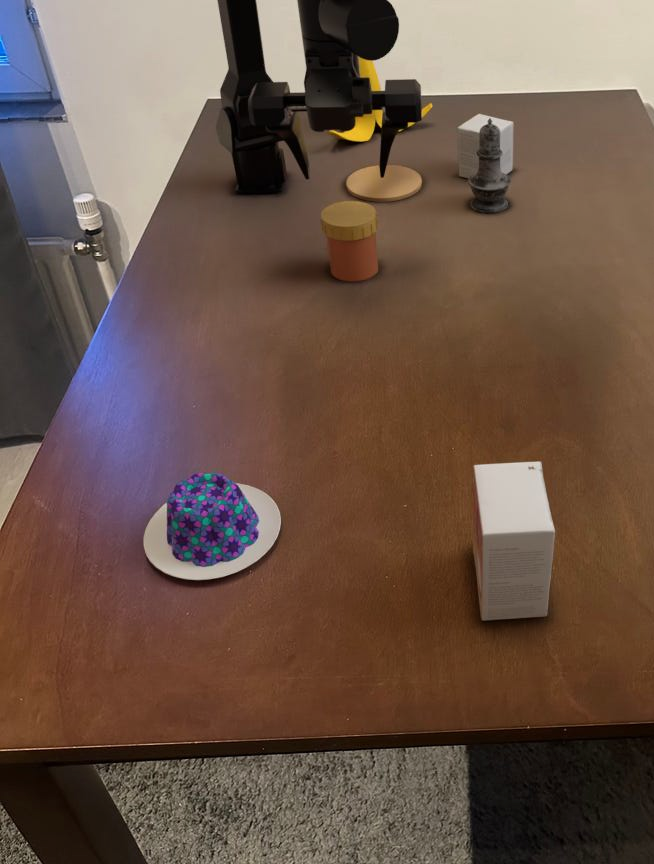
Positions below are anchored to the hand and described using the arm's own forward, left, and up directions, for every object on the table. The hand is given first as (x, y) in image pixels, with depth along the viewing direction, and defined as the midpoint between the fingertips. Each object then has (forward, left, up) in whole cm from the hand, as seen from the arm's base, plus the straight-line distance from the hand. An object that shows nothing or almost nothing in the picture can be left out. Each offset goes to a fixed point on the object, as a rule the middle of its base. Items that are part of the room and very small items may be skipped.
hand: (345, 177), depth 105 cm
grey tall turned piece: (+18, +17, -12) cm, 28 cm away
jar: (0, 0, -12) cm, 12 cm away
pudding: (-10, -46, -12) cm, 49 cm away
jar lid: (0, 0, -5) cm, 5 cm away
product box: (+18, +27, -12) cm, 35 cm away
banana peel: (+2, +45, -12) cm, 47 cm away
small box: (+16, -53, -12) cm, 57 cm away
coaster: (+3, +24, -12) cm, 27 cm away
